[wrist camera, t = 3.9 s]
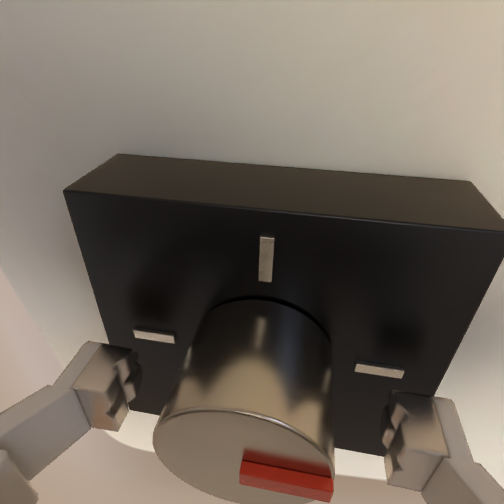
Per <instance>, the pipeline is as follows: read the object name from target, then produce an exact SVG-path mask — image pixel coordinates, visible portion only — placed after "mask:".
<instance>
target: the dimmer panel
mask: <svg viewBox="0 0 504 504" xmlns="http://www.w3.org/2000/svg"><path fill="white" fill-rule="evenodd" d="M63 194H64V197H65V200H66V203H67V207H68V210H69V213H70V216H71V220H72V223H73V226H74V230H75V233H76V236H77V239H78V243H79V246H80V249H81V252H82V256H83V259H84V262H85V266H86V269H87V272H88V275H89V279H90V282H91V285H92V288H93V292H94V295H95V298H96V301H97V305H98V308H99V311H100V315H101V318H102V321H103V324H104V328H105V331H106V334H107V337H108V341H109V344H110V345H115V346H120V347H126V348H131V349H137V352H138V355H139V358H138V360H137V361H136V362H137V363H138V364H139V365H140V366H141V367H142V372H143V373H142V382H141V386H140V389H139V391H138V393H137V395H136V397H135V398H134V399H132V400H131V401H129V402H128V406H129V409H130V410H133V411H139V412H144V413H149V414H155V415H161V412H162V410H163V408H164V405H165V403H166V400H167V398H168V396H169V393H170V391H171V388H172V386H173V384H174V381H175V379H176V377H177V374H178V372H179V369H180V367H181V365H182V362H183V360H184V357H185V355H186V353H187V350H188V348H189V346H190V343H191V341H192V338H193V336H194V334H195V331H196V329H197V326H198V324H199V323H200V321H201V320H202V319H203V318H204V316H205V315H206V314H208V313H209V312H210V311H212V310H213V309H215V308H217V307H218V306H220V305H223V304H226V303H229V302H233V301H237V300H247V299H257V300H266V301H272V302H276V303H280V304H283V305H286V306H289V307H291V308H294V309H295V310H297V311H299V312H301V313H303V314H304V315H306V316H307V317H309V318H310V319H311V320H313V321H314V322H315V323H316V324H317V325H318V326H319V327H320V328H321V329H322V331H323V332H324V333H325V335H326V336H327V338H328V340H329V342H330V344H331V348H332V353H333V396H334V448H339V449H345V450H350V451H356V452H361V453H367V454H372V455H377V456H383V457H385V455H386V452H387V450H388V449H387V448H386V447H385V445H384V444H383V443H382V439H381V415H382V412H383V409H384V407H385V406H387V405H389V402H388V396H389V393H390V391H392V390H397V391H404V392H411V393H418V394H425V395H429V396H434V394H435V392H436V390H437V389H438V387H439V385H440V383H441V381H442V379H443V377H444V375H445V373H446V371H447V369H448V367H449V365H450V363H451V361H452V359H453V357H454V355H455V353H456V351H457V349H458V347H459V345H460V343H461V341H462V339H463V337H464V335H465V333H466V331H467V329H468V327H469V325H470V323H471V321H472V319H473V317H474V315H475V313H476V311H477V309H478V307H479V306H480V304H481V302H482V300H483V298H484V296H485V294H486V292H487V290H488V288H489V286H490V284H491V282H492V280H493V278H494V276H495V274H496V272H497V270H498V268H499V266H500V264H501V262H502V260H503V258H504V219H503V218H502V217H501V216H500V215H499V214H498V212H497V211H496V210H495V209H494V208H493V207H492V206H491V204H490V203H489V202H488V201H487V200H486V199H485V197H484V196H483V195H482V194H481V193H480V192H479V191H478V189H477V188H476V187H475V186H474V185H473V184H472V182H467V181H454V180H442V179H429V178H416V177H404V176H391V175H378V174H365V173H353V172H340V171H327V170H315V169H302V168H289V167H277V166H264V165H251V164H239V163H226V162H213V161H201V160H188V159H175V158H163V157H150V156H137V155H125V154H117V155H115V156H114V157H112V158H111V159H109V160H108V161H106V162H105V163H103V164H101V165H100V166H98V167H97V168H95V169H94V170H92V171H91V172H89V173H88V174H86V175H85V176H83V177H82V178H80V179H79V180H77V181H76V182H74V183H73V184H71V185H69V186H68V187H66V188H65V189H63Z"/></svg>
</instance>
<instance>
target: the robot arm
mask: <svg viewBox="0 0 504 504" xmlns="http://www.w3.org/2000/svg"><path fill="white" fill-rule="evenodd" d="M138 358H139V355H138V352H137V349H131V348H126V347H120V346H115V345H109V344H104V343H98V342H92V341H88V342H87V343H85V344H84V345H83V346H82V347H81V348H80V350H79V351H78V352H77V354H76V355H75V356H74V358H73V359H72V360H71V362H70V363H69V364H68V366H67V367H66V368H65V370H64V371H63V372H62V374H61V375H60V376H59V378H58V379H57V380H56V382H55V383H54V385H53V386H51V385H47V386H46V387H44V388H42V389H40V390H39V391H37V392H35V393H34V394H32V395H30V396H28V397H27V398H25V399H23V400H22V401H20V402H18V403H17V404H15V405H13V406H11V407H10V408H8V409H6V410H5V411H3V412H1V413H0V504H36V503H37V501H38V493H37V492H36V490H35V489H34V488H33V486H32V485H31V484H30V482H29V481H30V480H31V479H32V478H33V477H34V476H36V475H37V474H38V473H39V472H40V471H42V470H43V469H44V468H45V467H46V466H47V465H49V464H50V463H51V462H52V461H53V460H55V459H56V458H57V457H58V456H59V455H60V454H62V453H63V452H64V451H65V450H66V449H68V448H69V447H70V446H71V445H72V444H74V443H75V442H76V441H77V440H78V439H80V438H81V437H82V436H83V435H84V434H85V433H87V432H88V431H89V430H90V429H91V428H90V427H92V428H99V429H105V430H111V431H117V432H118V431H119V429H120V427H121V425H122V423H123V421H124V419H125V417H126V415H127V413H128V411H129V410H128V404H127V403H128V402H129V401H131V400H132V399H134V398H135V397H136V395H137V393H138V391H139V389H140V386H141V382H142V373H143V372H142V367H141V366H140V365H139V364H138V363H137V362H136V361H137V360H138ZM388 402H389V405H387V406H385V407H384V409H383V412H382V415H381V439H382V443H383V444H384V445H385V447H386V448H387V449H388V450H387V452H386V455H385V457H384V463H385V470H386V477H387V484H388V485H392V486H396V487H401V488H405V489H410V490H414V491H419V492H422V493H421V495H422V496H423V498H424V499H425V501H426V503H427V504H504V489H503V488H502V487H501V486H500V485H499V484H498V483H497V481H496V480H495V479H494V478H493V477H492V476H491V475H490V474H489V473H488V472H487V470H486V469H485V468H484V467H483V466H482V465H481V464H479V463H475V462H474V461H473V458H472V455H471V452H470V449H469V446H468V443H467V440H466V437H465V434H464V431H463V428H462V425H461V422H460V419H459V416H458V413H457V410H456V407H455V404H454V402H453V401H452V400H451V399H448V398H441V397H434V396H429V395H425V394H418V393H411V392H404V391H397V390H392V391H390V393H389V396H388Z"/></svg>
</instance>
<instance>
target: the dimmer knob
mask: <svg viewBox="0 0 504 504" xmlns="http://www.w3.org/2000/svg"><path fill="white" fill-rule="evenodd" d="M153 446H154V449H155V452H156V454H157V456H158V457H159V459H160V460H161V462H162V463H163V464H164V465H165V466H166V467H167V468H168V469H169V470H170V471H171V472H172V473H173V474H175V475H176V476H177V477H178V478H180V479H181V480H183V481H184V482H186V483H188V484H190V485H191V486H193V487H195V488H197V489H199V490H201V491H203V492H206V493H208V494H210V495H213V496H216V497H218V498H221V499H224V500H228V501H231V502H236V503H240V504H306V503H309V502H311V501H314V500H319V501H324V502H328V503H329V502H330V501H331V498H332V495H333V480H334V475H335V460H334V396H333V353H332V348H331V344H330V342H329V340H328V338H327V336H326V335H325V333H324V332H323V331H322V329H321V328H320V327H319V326H318V325H317V324H316V323H315V322H314V321H313V320H311V319H310V318H309V317H307V316H306V315H304V314H303V313H301V312H299V311H297V310H295V309H294V308H291V307H289V306H286V305H283V304H280V303H276V302H272V301H266V300H257V299H247V300H237V301H233V302H229V303H226V304H223V305H220V306H218V307H217V308H215V309H213V310H212V311H210V312H209V313H208V314H206V315H205V316H204V318H203V319H202V320H201V321H200V323H199V324H198V326H197V329H196V331H195V334H194V336H193V338H192V341H191V343H190V346H189V348H188V350H187V353H186V355H185V357H184V360H183V362H182V365H181V367H180V369H179V372H178V374H177V377H176V379H175V381H174V384H173V386H172V388H171V391H170V393H169V396H168V398H167V400H166V403H165V405H164V408H163V410H162V412H161V415H160V417H159V419H158V422H157V424H156V427H155V429H154V432H153Z"/></svg>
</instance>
